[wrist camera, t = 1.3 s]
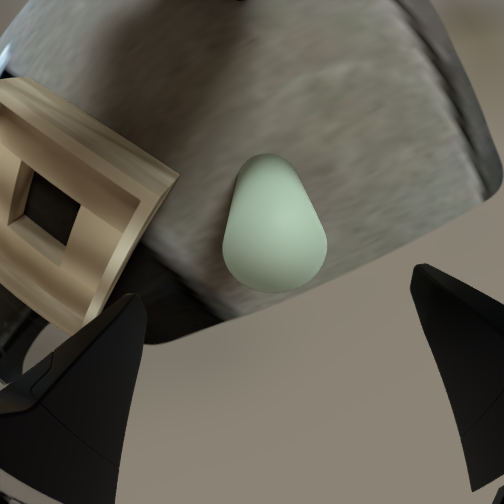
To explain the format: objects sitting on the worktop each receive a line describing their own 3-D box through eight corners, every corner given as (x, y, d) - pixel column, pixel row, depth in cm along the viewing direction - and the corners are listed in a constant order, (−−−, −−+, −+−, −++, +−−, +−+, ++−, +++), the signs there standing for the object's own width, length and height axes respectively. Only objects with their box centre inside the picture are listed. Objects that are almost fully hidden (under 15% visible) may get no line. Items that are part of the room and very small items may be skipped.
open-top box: (27, 76, 14) (-11, 80, 10) (180, 174, 19) (159, 197, 15) (-11, 225, 20) (-37, 246, 16) (101, 311, 25) (83, 344, 21)
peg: (262, 141, 18) (267, 179, 10) (309, 178, 19) (347, 243, 11) (225, 188, 19) (202, 258, 11) (271, 221, 20) (280, 307, 13)
